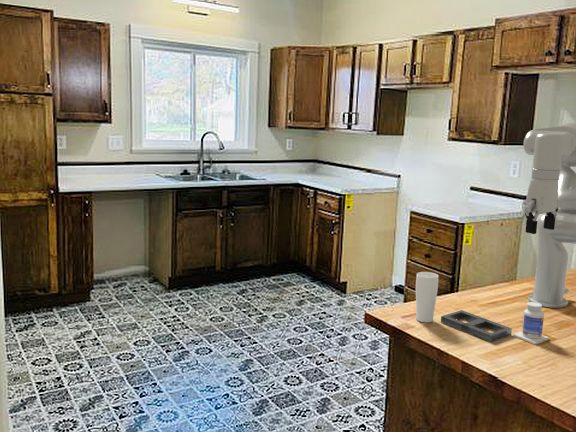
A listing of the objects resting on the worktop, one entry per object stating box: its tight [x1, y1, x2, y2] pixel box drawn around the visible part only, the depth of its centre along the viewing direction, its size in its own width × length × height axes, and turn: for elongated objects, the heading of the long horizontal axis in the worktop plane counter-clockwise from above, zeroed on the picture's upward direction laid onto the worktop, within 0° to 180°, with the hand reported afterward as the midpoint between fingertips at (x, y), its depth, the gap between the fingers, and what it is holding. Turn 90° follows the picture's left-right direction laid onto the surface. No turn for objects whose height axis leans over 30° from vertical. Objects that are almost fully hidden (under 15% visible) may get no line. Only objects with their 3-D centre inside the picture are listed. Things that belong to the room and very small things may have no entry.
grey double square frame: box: [440, 309, 513, 343], centre depth 165 cm, size 10×18×2 cm, turn 35°
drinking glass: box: [415, 271, 439, 323], centre depth 170 cm, size 7×7×15 cm
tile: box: [512, 330, 550, 346], centre depth 159 cm, size 7×7×1 cm
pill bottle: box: [521, 301, 545, 339], centre depth 158 cm, size 5×5×10 cm
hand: (539, 231), depth 164 cm, fingers open, 9 cm apart
